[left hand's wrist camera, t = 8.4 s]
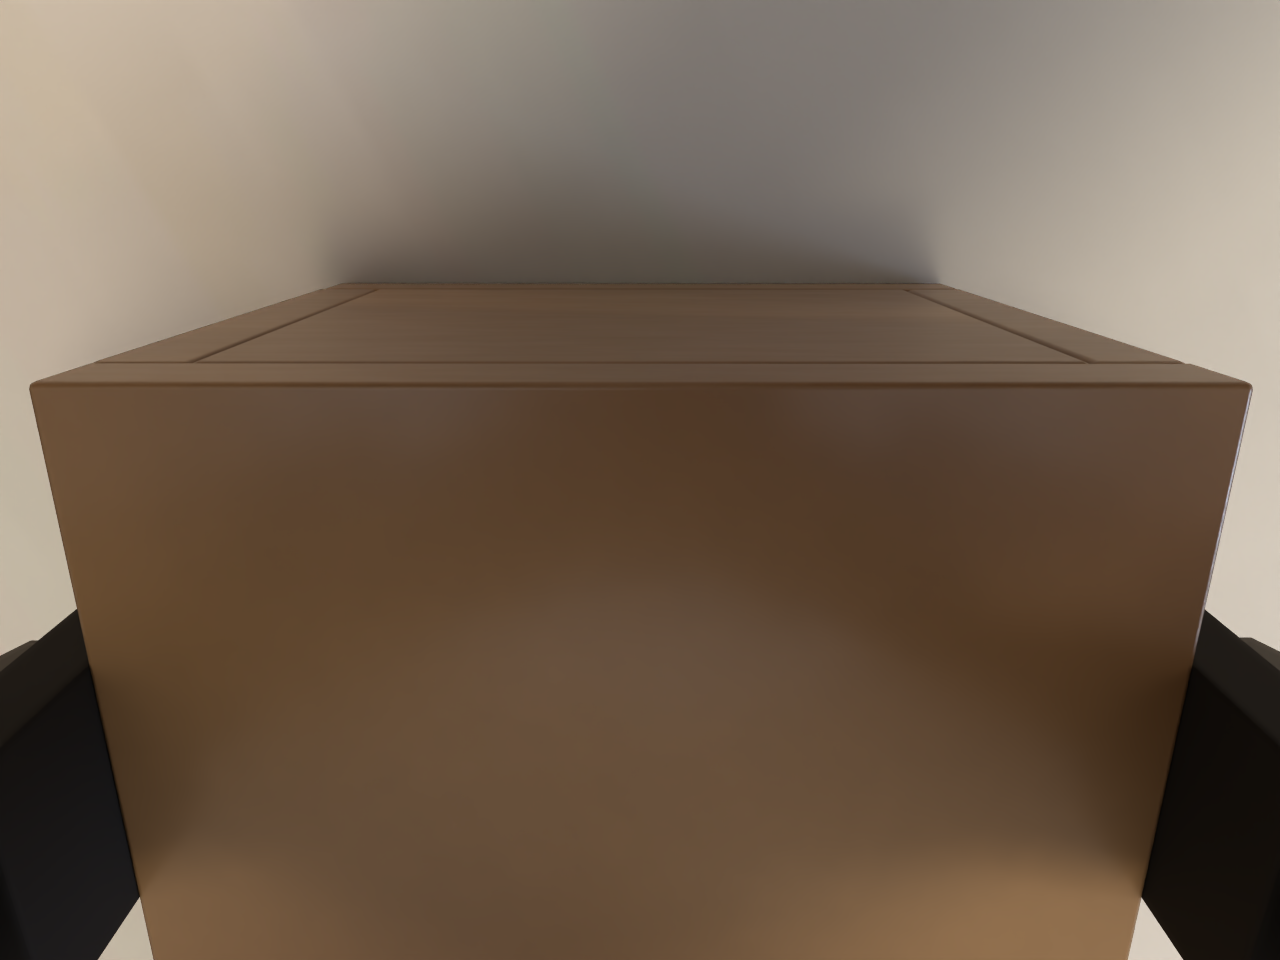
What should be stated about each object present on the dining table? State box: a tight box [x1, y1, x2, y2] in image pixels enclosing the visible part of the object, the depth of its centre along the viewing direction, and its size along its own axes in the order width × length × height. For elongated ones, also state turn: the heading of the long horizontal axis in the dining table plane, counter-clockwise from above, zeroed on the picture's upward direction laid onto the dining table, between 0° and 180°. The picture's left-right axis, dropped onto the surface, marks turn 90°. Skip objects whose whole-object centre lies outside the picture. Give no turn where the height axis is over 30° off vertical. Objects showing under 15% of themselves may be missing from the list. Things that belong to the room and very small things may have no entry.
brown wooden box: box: [29, 284, 1253, 960], centre depth 14 cm, size 19×10×8 cm, turn 0°
